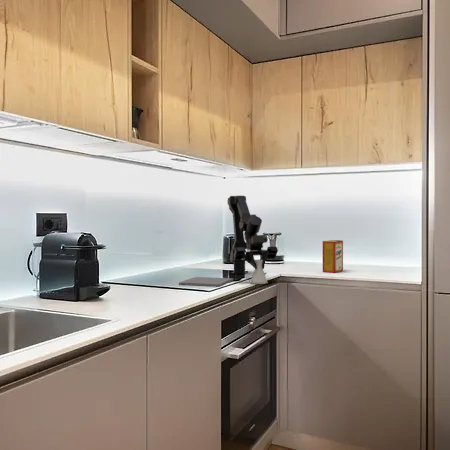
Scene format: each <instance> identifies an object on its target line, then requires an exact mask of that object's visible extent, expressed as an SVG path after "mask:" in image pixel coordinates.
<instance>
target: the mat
mask: <svg viewBox="0 0 450 450" xmlns="http://www.w3.org/2000/svg"><path fill="white" fill-rule="evenodd" d="M233 281H234V278H232V277H231V278H229V277H210V276H209V277H207V276H205V277H203V276H194V277H192V278H188V279H185V280H182V281H179V282H178V285H179V286H192V287H193V286H196V287H211V286H216V287H215V288H217V287H218V288H220V287H221V285H222V286H224V285H226V283H227V284H229V283H231V282H233ZM219 286H220V287H219Z"/></svg>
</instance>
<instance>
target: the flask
mask: <svg viewBox="0 0 450 450" xmlns="http://www.w3.org/2000/svg"><path fill="white" fill-rule="evenodd" d="M255 262H256V266H257V269H255V268H254V269H253V270H254V271H253V273H252V277H251V280H250V283H251V284H253V285H264V284H268V283H269V282H268V279H267V276H266V274H265V271H264V269H263V267H262V262H263V260H260V259H255Z"/></svg>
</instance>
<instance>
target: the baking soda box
mask: <svg viewBox="0 0 450 450" xmlns="http://www.w3.org/2000/svg"><path fill="white" fill-rule="evenodd" d="M343 271H344V240H342V239H340V240H339V239H337V240H335V239H334V240H333V239H329V240H323V241H322V273H328V274H337V273H342V272H343Z"/></svg>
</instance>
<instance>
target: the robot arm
mask: <svg viewBox="0 0 450 450" xmlns="http://www.w3.org/2000/svg"><path fill="white" fill-rule="evenodd" d="M227 205H228V209H229V211H230V212H231V213H232V223H233V234H234V243H233V245H232V246H231V251H230V256H229V260H230V262H233V271H232V272H231V275H232V274H233V275H246V274H247V273H248V271H246V262H247V263H248V264H250V266H252V267H253V269H254V270H255V269H257V266H256V261H255V260H256V259H255V257H256V256H260V259H259V260H263V262H262V267H263V270H265V262H266V261H267V260H274V259H275V260H276V257H277V254H278V252H279V249H278V247H277V246H276V245H275V246H267V247H266V249H263V247H264V244H265V243H268V241H269V238H268V235H267V234H259V235H258V233H259V232H260V230H261V225H262V222H263V221H262V219H261V217H259V216H258V215H257V214H251V213H250V209H249V206H248V204H247V197H246V196H245V195H230V196H229V197H228V198H227Z"/></svg>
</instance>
